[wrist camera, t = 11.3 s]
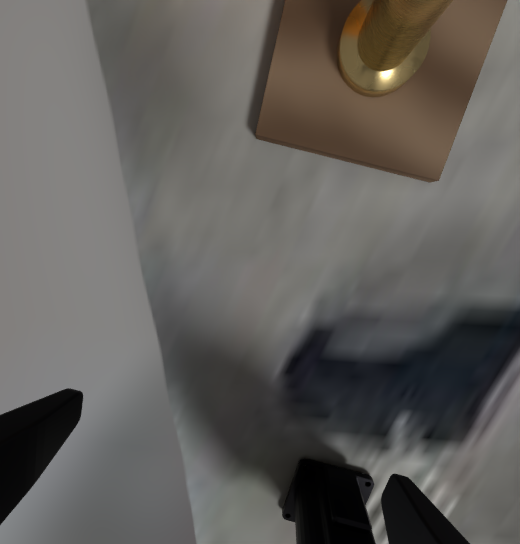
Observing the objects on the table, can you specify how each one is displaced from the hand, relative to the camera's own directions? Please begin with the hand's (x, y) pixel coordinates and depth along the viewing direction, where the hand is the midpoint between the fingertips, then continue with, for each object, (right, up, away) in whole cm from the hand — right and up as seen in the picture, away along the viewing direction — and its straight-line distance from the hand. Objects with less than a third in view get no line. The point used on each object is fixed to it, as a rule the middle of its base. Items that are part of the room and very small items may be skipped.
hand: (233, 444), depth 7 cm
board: (+8, +18, +9) cm, 22 cm away
